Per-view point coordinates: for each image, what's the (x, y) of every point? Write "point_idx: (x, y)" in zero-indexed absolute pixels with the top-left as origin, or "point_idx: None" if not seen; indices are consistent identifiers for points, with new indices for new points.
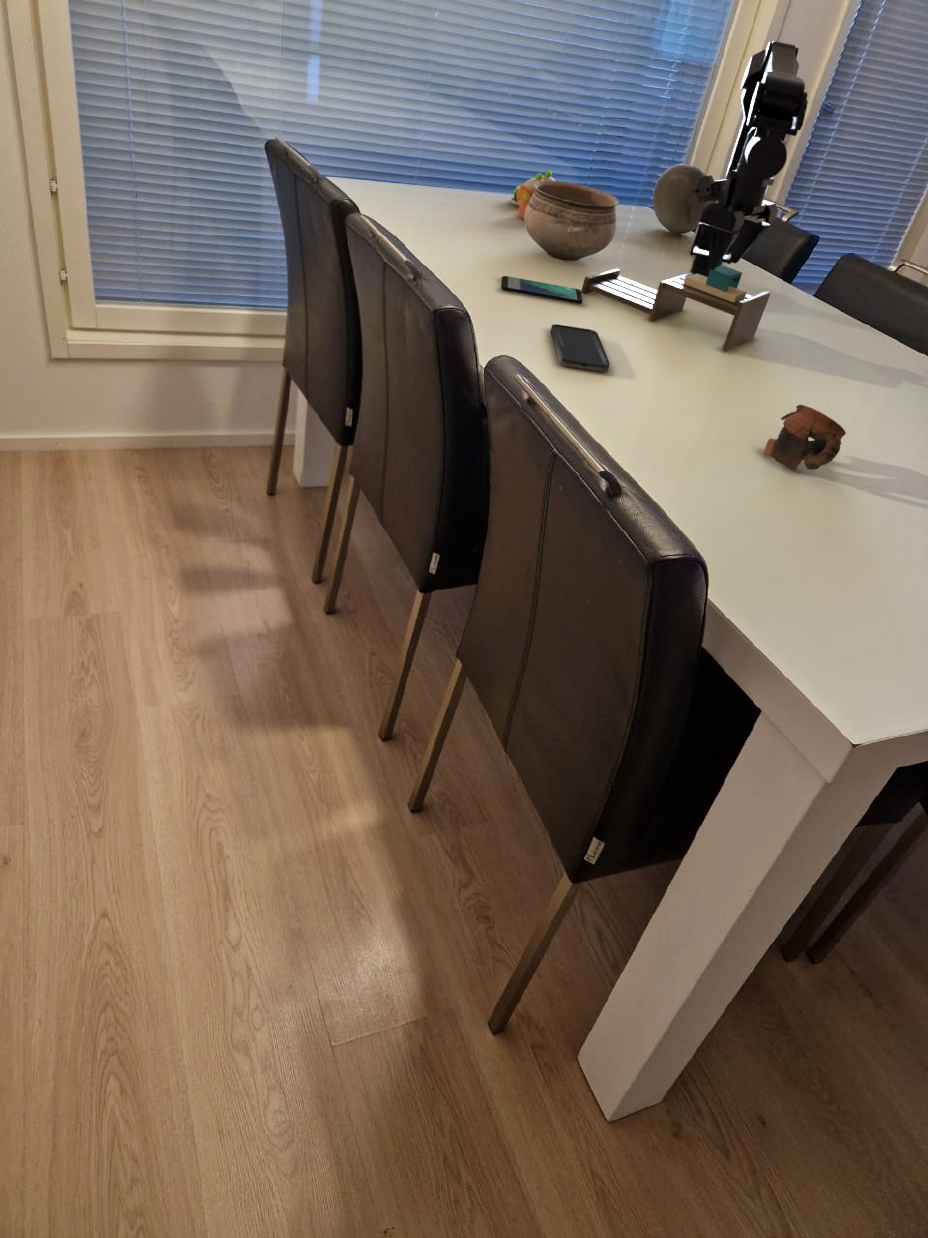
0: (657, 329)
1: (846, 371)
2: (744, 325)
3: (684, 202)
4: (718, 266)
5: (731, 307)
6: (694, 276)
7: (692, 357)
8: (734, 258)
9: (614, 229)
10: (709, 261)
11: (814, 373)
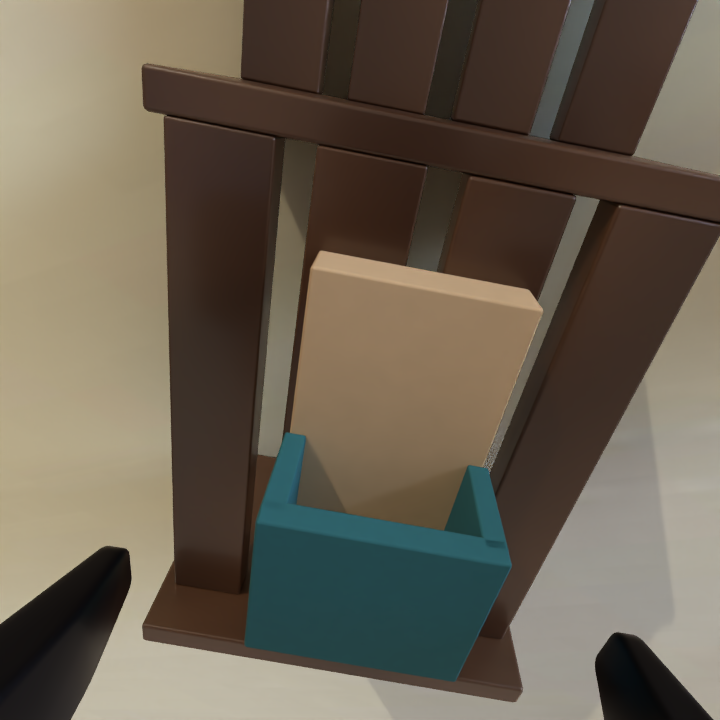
0: None
1: (436, 700)
2: None
3: None
4: (422, 552)
5: (184, 562)
6: (413, 319)
7: (39, 389)
8: (619, 684)
9: None
10: (45, 598)
11: None
